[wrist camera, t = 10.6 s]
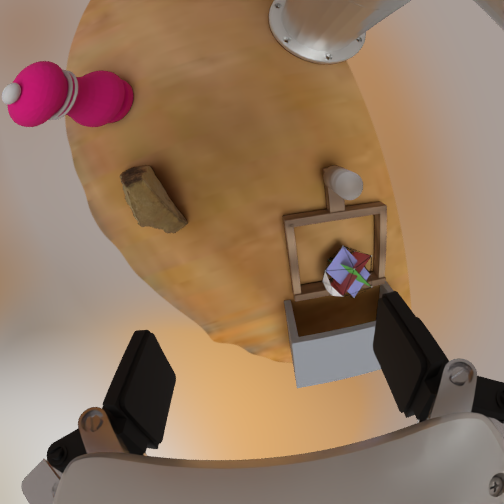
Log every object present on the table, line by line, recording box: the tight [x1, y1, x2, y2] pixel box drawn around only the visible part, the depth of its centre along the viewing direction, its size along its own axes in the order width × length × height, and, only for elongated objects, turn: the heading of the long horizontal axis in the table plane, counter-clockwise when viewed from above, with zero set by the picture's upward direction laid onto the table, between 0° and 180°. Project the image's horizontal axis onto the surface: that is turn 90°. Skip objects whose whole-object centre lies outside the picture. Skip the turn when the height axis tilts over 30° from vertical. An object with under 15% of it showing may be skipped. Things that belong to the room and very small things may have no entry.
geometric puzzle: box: [323, 246, 372, 298], centre depth 36 cm, size 7×7×8 cm
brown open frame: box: [283, 165, 387, 302], centre depth 33 cm, size 18×14×7 cm
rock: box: [120, 166, 188, 233], centre depth 32 cm, size 11×9×10 cm
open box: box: [284, 281, 393, 388], centre depth 38 cm, size 10×17×10 cm, turn 100°
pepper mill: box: [2, 61, 133, 127], centre depth 19 cm, size 7×7×20 cm
